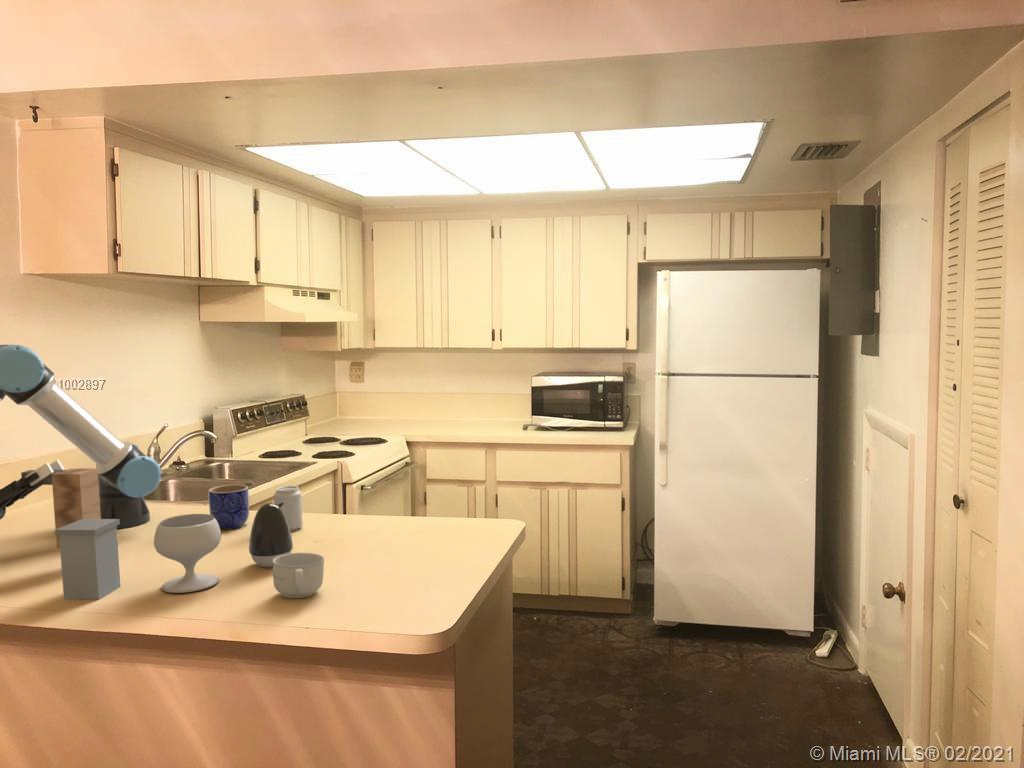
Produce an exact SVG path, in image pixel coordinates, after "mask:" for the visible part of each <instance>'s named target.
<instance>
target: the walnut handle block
mask: <svg viewBox="0 0 1024 768" xmlns="http://www.w3.org/2000/svg"><path fill="white" fill-rule="evenodd" d="M34 470H35V469H29V470H26V471H21V472H20V474H21V478H26V477H25V476H27V475H28V474H30V473H31V472H33V471H34ZM53 471H54V473H52V474H50V475H49V476H47V477H46V478H44V479H43V480H41V481H39V482H38V483H36V484H35V485H42V486H47V485H48V486H52V496H53V497H52V499H53V500H52V501H53V513H54V528H55V529H54V530H56V529H58V528H61V527H63V526H66V525H68V524H71V523H73V522H75V521H78V520H80V519H101V513H100V497H99V482H98V469H97V468H68V469H64V470H53ZM28 485H30V484H28ZM55 539H56V541H55V542H56V548H57V549H60V539H59V535H55Z"/></svg>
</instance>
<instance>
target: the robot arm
mask: <svg viewBox="0 0 1024 768" xmlns="http://www.w3.org/2000/svg"><path fill="white" fill-rule="evenodd" d="M6 396H7V397H8V398H9V399H10V400H12V402H13V403H15V404H16V405H18V406H28V407H30V409H32V410H33V411H34V412H35V413H36V414H38V415H39V416H40V417H41V418H42V419H43V420H45V422H47V423H48V424H50V425H51V427H53V428H54V429H55V430H56V431H57V432H59V433H60V434H61V435H62V436H63V437H64V438H65V439H67V440H68V441H69V442H71V443H72V444H73V445H74V446H75V447H76V448H77V449H78V450H80V451H81V452H82V453H83V454H84V455H86V457H88V458H89V459H90V460H92V462H94V464H95V465H96V469H98V482H99V497H100V513H101V519H120V524H119V525H117V529H123V528H130V527H135V526H140V525H142V524H145V523H147V522H149V521H150V520H151V512H150V510H149V507H148V505H147V502H146V501H145V498H144V497H146V496H148V495H150V494H151V493H153V492H154V491H155V490H156V488H158V486H159V484H160V482H161V478H162V469H161V467H160V464H159V463H158V461H156V460H155V459H154V458H152V457H150V456H147V455H146V454H145V453H144V452H143V451H141V450H140V446H138V445H137V444H133V443H132V442H131V441H122V440H120V438H118V437H117V436H116V435H115V434H114V433H112V431H110V430H109V429H108V428H107V427H106V426H104V425H103V424H102V422H100V421H99V420H98V419H97V418H96V417H95V416H94V415H92V413H90V412H89V411H88V410H87V409H86V408H85V407H83V406H82V405H81V404H80V403H79V402H78V401H76V399H74V398H73V397H72V396H71V395H70V394H69V393H68V392H66V391H65V390H64V389H63V388H62V387H61V386H60V385H59V384H58V383H56V376H55V373H54V372H53V371H52V370H51V369H50V368H49V367H48V366H47V365H45V364H44V362H43V360H42V358H41V357H40V355H39V354H38V353H36V351H34V350H32V349H31V348H29V347H27V346H24V345H20V344H0V402H1V401H3V400H4V399H5V397H6ZM33 470H34V471H33V472H31V473H30V474H28V475H27V476H25V477H26V478H22V477H21V478H19V479H18V480H13V481H12V482H10V483H9V484H7V485H6V486H4V487H3V488H1V489H0V520H2V519H3V518H4V517H5V515H6V511H7V508H9V507H10V506H13V505H14V504H15V502H17V501H19V500H23V499H25V498H26V497H27V496H28V495H30V494H31V493H33V492H34V491H36V490H37V489H39V488H40V487H42V486H43V485H35V484H36V483H38V482H39V481H41V480H43V479H44V478H46V477H47V476H49V475H50V474H52V473H54V471H53V470H65V467H64V466H63V464H62V463H61V461H60V459H57V460H55V461H53V462H52V463H49V462H46V463H44V464H42V465H41V466H39V467H38V468H36V469H33ZM28 484H30V485H28Z"/></svg>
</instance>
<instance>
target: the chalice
mask: <svg viewBox="0 0 1024 768" xmlns="http://www.w3.org/2000/svg"><path fill="white" fill-rule="evenodd" d="M153 539H154V540H153V545H154V549H155V551H156V552H157V553H158V554H159V555H160V556H162V557H165V558H166V559H169V560H172V561H175V562H177V563H179V564H181V565H182V566H183V568H184V570H185V572H184V575H182V576H178V577H174V578H172V579H169V580H167V581H166V582H164V583H163V584H162V585H161V587H160V589H161V590H163V592H166V593H173V594H183V593H193V592H198V591H201V590H206V589H208V588H211V587H214V586H215V585H216V584H217V583H219V582H220V578H219V577H218V576H217V575H215V574H209V573H196V571H195V566H196V565H197V563H198V562H199V561H200V560H201V559H203V557H206V556H207V555H208V554H210V553H212V552H213V551H214V550H215V549H216V548H218V546H219V545H220V543H221V540H222V533H221V529H220V527H219V525H218V522H217V520H216V519H215V518H214V516H212V515H210V514H209V513H208V514H207V513H190V514H189V513H188V514H181V515H175V516H171V517H168V518H165V519H163V520H161V521H159V522H158V525H157V527H156V529H155V533H154V538H153Z"/></svg>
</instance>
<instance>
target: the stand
mask: <svg viewBox="0 0 1024 768" xmlns="http://www.w3.org/2000/svg"><path fill="white" fill-rule="evenodd" d="M119 524H120V519H80V520H78V521H75V522H73V523H71V524H68V525H66V526H63V527H61V528H58V529H54V534H55V536H56V535H59V539H60V548H59V550H60V552H59V553H60V564H61V578H62V592H63V599H64V600H100V599H102V598H104V597H106V596H107V595H109V594H111V593H112V592H114V591H116V590H117V589H119V588H121V573H120V571H121V570H120V562H119V561H120V559H119V543H118V528H117V525H119Z"/></svg>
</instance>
